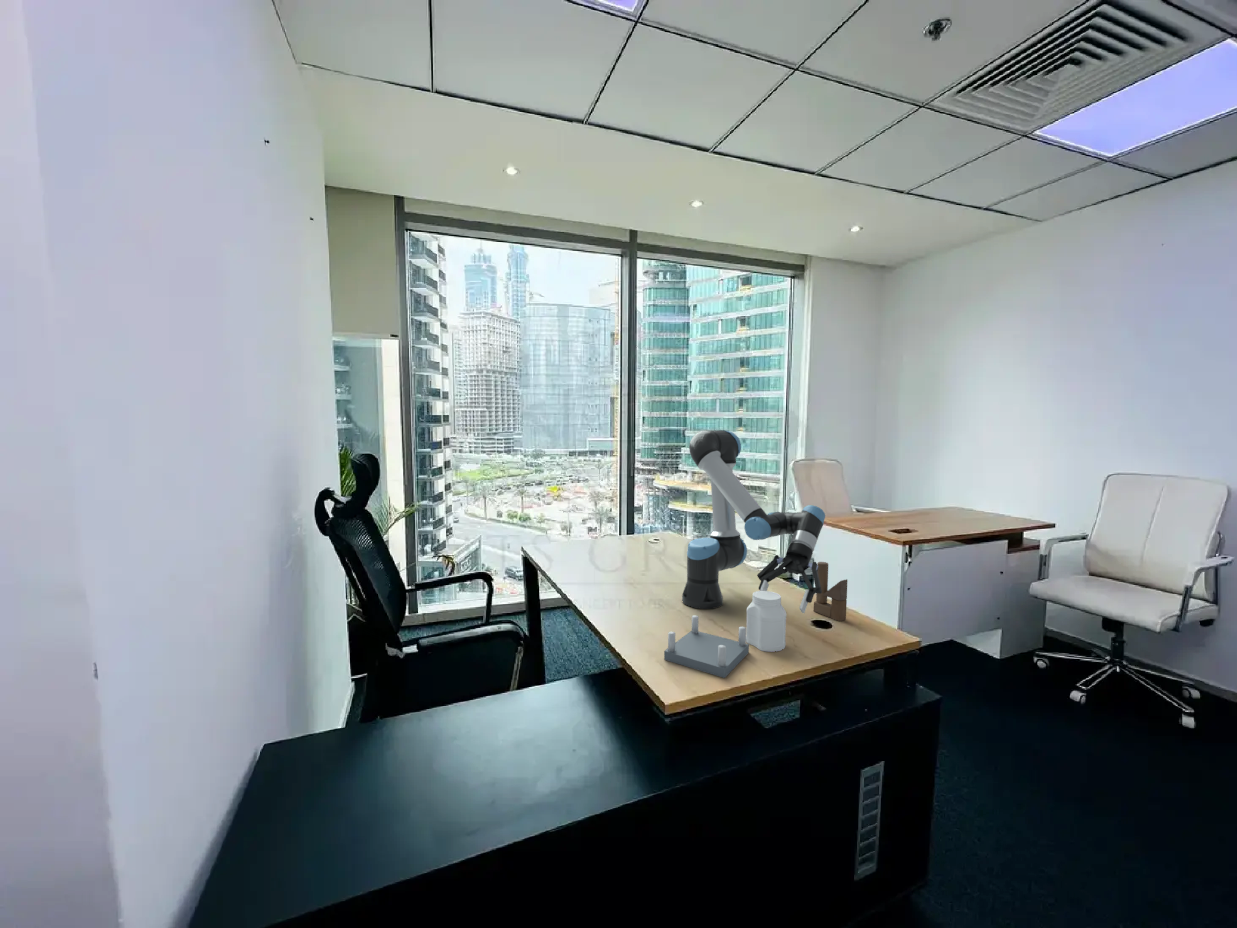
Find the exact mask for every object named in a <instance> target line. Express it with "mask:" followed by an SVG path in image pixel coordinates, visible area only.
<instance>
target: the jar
mask: <svg viewBox="0 0 1237 928" xmlns="http://www.w3.org/2000/svg"><path fill="white" fill-rule="evenodd" d="M751 600H752V601H751V602H750V604H749V605H748V606H747V607H746V627H745V628H746V644H749V645H751V646H754V647H756V648H757V649H758V650H759V651H761V652H769V653H770V652H771V653H773V652H775V651H776V652H780V651H783V650H784V649H785V648H786V631H787V629H786V628H787V627H786V625H787V612H786V610H785V609H786V608H784V606H783V605H782V596H781V595H780V593H777V592H774V591H769V590H767V591H760V590H758V591H757V590H756V591H753V592H752V599H751ZM782 649H783V650H782Z"/></svg>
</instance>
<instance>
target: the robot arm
mask: <svg viewBox="0 0 1237 928" xmlns="http://www.w3.org/2000/svg"><path fill="white" fill-rule="evenodd" d="M688 450H689V453H690V457H691V458H692V460H693V462H694V464H695V465H696V466H697V468H698V469H699V470H701V471H704V473H706V475H707V476H708V477H709V479H710V489H711V490H710V491H711V507H712V509H711V510H712V524H713V525H712V527H713V530H712V532H710V534H709V537H699V538H695V539H692V540H691V541H689V542H688V544H687V551H686V558H687V559H686V561H687V562H686V569H687V570H686V574H687V575H686V583H685V587H684V589H683V591H682V595H681V602H682V601H683V602H682V604H684V605H686V606H687V605H688V606H687V607H690V606H691V607H690V608H695V609H703V610H709V609H716V608H720V607H721V606H723V604H724V596H723V593H722V590H721V587H720V583H719V574H720V573H719V572H722V571H725V570H728V569H733V568H736V567H738V566H740V565H742V564H743V562H745V561H746V559H747V554H748V548H747V547H748V546H747V545H746V543H745V542H744V539H742V538H741V533H740V532H739V531H738V530H737V527H736V525H737V524H736V513H737V514H738V517H740V518H741V520H742V521H743V522H744V526H743V528H744V531H745V532H744V533H745V535H746V536H747V537H748V538H750V539H751V540H753V541H758V540H759V541H760V540H761V541H762V540H766V539H769V538H772V537H778V536H782V535H792V537H791V539H790V542H789V545H788V548H787V550H786V553H785V556H783V557H780V556H779V555H778V554H775V555H774V557H773V559H772V560H771V561H770V562H769V563H768V564H767V565H766V566H764V568H763V569H761V570H760V572H759V573H757V575H756V576H757V578H758V579H759V581H760V583H759V586H758V591H768V588H769V585H770V584H769V582H771V581H773V580H775V579H776V578H778V577H780V576H781V575H783V574H786V573H789V574H794V575H797V576H798V575H801V576H802V578H803V580H804V582H805V583H806V586H807V588H808V589H806V588H805V591H804V594H803V597H802V598H801V599H802V600H801V602H800V605H799V610H800V613H801V614H805V613H806V609H807V606H808V604H811V603H812V601H813V599H814V595H815V594H816V593H819V594H821V593H822V590H821V585H820V581H819V576H818V568H819V567H818V565H817V563H818V562H816V561H813V562H811V559H812V556H813V552H814V551H815V548H816V545H817V541H818V540H819V536H820V533H821V532H822V529H823V526H824V524H825V519H826V513H825V512H824V510H823V509H822V508H820V507H818V506H816V505H811V504H807V505H806V506H804V507H803V508H802V510H801V512H786V511H785V512H783V511H774V512H773V511H772V512H769V513H766V512H765V510H764V509H763V508H762V507H761V506H760V505H759V503H758V502H757V501H756V499H755V498H754V497H753V496H752V495H751V493H750V492H749V490H747V488H746V487H745V486H744V485H743V482H741V481H740V480H739V479H738V477H737V476H736V475H735V473H734V472H733V469H734V467H735V466H736V465H737V458H738V457H739V455H740V453H741V451H742V443H741V440H740V439H739V437H738V435H737V434H736V433H734V432H733V431H729V430H724V429H719V430H712V429H711V430H709V429H704V430H700V431H697V433H695V434H694V435H693V436H692V437H691V440H690V441H689V449H688ZM809 568H810V570H811V573H812V578H813V582H814V586H813V585H812V583H811V581H810V579H809V577H808V576H807V573H806V570H808V569H809ZM719 606H720V607H719Z"/></svg>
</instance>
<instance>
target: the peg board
mask: <svg viewBox="0 0 1237 928" xmlns="http://www.w3.org/2000/svg"><path fill="white" fill-rule="evenodd" d="M746 628H747V627H746V626H739V627H738V641H737V640H735V639H730V638H726V637H722V636H719V635H715V634H711V633H707V632H703V631H699V616H698V615H695V614H694V615H691V630H690V631H689V632H688V633H687V634H685V635H684V636H683V637H681V638H680V639H678V640H677V641H676V632H675V631H669V632H668V633H667V635H668V637H667V648H666V649H665V650H664V654H663V656H664V657H663V659H664V661H668V662H671V663H673V664H674V663H675V664H678V665H680V666H684V667H687V668H691V669H694V670H698V671H700V672H703V673H707V674H710V675H713V676H717V677H720V678H723V679H726V677H727V676H729V675H730V673H731V672H732V671H733V670H734V669H735V668H736V667H737V666H738V665H739V664H740V663H741V662H742V661H743V659H745V657H746V656H747V655H748V654H749V653H750V652H749V651H750V644H748V643H747V642H746Z"/></svg>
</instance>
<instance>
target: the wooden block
mask: <svg viewBox="0 0 1237 928" xmlns="http://www.w3.org/2000/svg"><path fill="white" fill-rule="evenodd" d="M816 563H817V565H818V567H819V568H818V576H819V581H820V585H821V590H822V593H821V594H819V593H815V594H816V598H815V600H816V601H814V602H813V612H814V611H815V613H817V614H820V615H822V616H825V617H828V618H831V619H832V620H835V621H837V622H843V621H845V620H847V601H848V600H847V599H848V579H847V578H846V579H843V580H842V579H841V580H840V581H839V582H837V583H836V584H835V585H833V586H831V588H830V589H828V588H829V587H828V585H829V563H828V562H826V561H818V562H816ZM828 598H831V600H830V601H831V602H829V603H828Z"/></svg>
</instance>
